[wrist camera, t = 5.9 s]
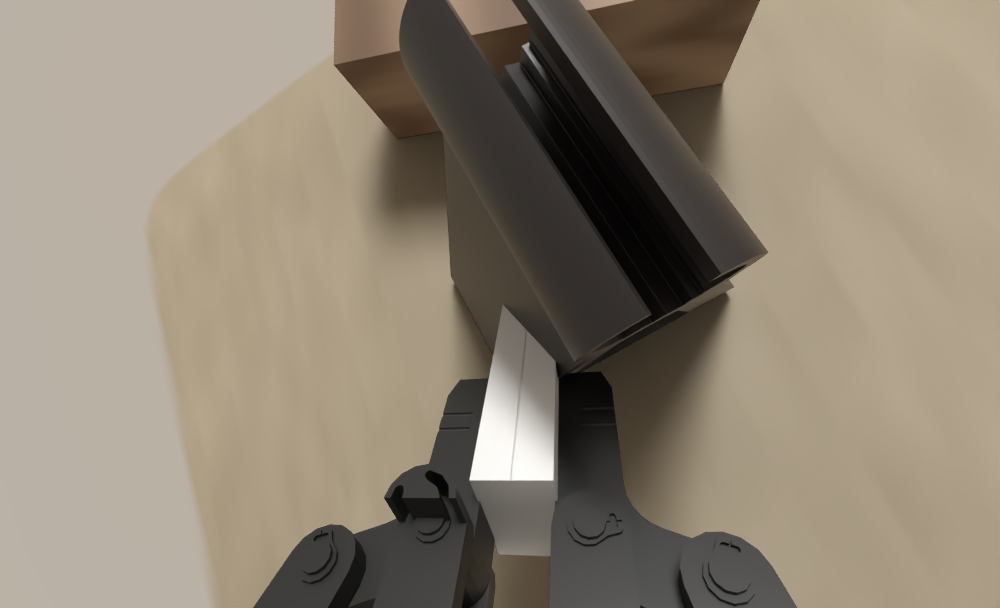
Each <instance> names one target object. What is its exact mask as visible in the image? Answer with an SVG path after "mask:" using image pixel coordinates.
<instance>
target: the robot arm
mask: <svg viewBox="0 0 1000 608" xmlns="http://www.w3.org/2000/svg"><path fill="white" fill-rule="evenodd" d="M443 415H444V416H443V417H442V420H441V423H440V427H439V432H438V434H437V437H436V441H435V444H434V448H433V452H432V455H431V459H430V462H429V464H427V465H421V466H416V467H414V468H412V469H410V470H408V471H406V472H404V473H402V474H401V475H400V476H399V477H398V478H397V479H396V480H395V481H394V482H393V483H392V484H391V486H390V488H389V489H388V491H387V493H386V495H385V497H384V499H385V500H386V502H387V503H388V505H389V507H390V508H391V510H392V512H393V513H394V515H395V516H396V519H395V520H392V521H390V522H388V523H386V524H383V525H380V526H377V527H374V528H371V529H368V530H365V531H362V532H359V533H356V534H353V533H352V532H351V531H350V530H348V529H347V528H345V527H344V526H342V525H331V524H330V525H327V526H324V527H321V528H318V529H316V530H314V531H313V532H312V533H310V534H309V535H307V536H306V537H304V538H303V539H302V541H301V542H300V543H299V544H298V545H297V546H296V547H295V548H294V550H293V551H292V552H291V554H290V555H289V557H288V558H287V559H286V561H285V562H284V564H283V565H282V567H281V568H280V570H279V571H278V573H277V574H276V575H275V577H274V578H273V580H272V581H271V583H270V584H269V586H268V587H267V588H266V590H265V591H264V593H263V594H262V596H261V597H260V599H259V600H258V602H257V603H256V604H255V606H254V607H253V608H493V603H494V594H495V575H494V572H493V570H492V567H491V566H492V558H493V550H494V544H495V546H496V549H497V551H498V554H501V555H529V556H550V591H549V608H797V607H796V605H795V603H794V602H793V600H792V598H791V597H790V595H789V593H788V592H787V590H786V588H785V587H784V585H783V583H782V582H781V580H780V578H779V577H778V575H777V574H776V572H775V570H774V569H773V567H772V566H771V564H770V563H769V562H768V561H767V560H766V558H765V557H764V556H763V555H762V554H761V552H760V551H759V550H758V549H756V548H755V547H754V546H752V545H751V544H749V543H748V542H746V541H745V540H743V539H742V538H740V537H737V536H734V535H731V534H728V533H725V532H705V533H703V534H700V535H698V536H696V537H694V538H689V537H686V536H683V535H680V534H678V533H675V532H672V531H669V530H666V529H663V528H661V527H659V526H657V525H654V524H652V523H650V522H649V521H648V520H646V519H645V518H644V517H642V516H641V515H640V514H639V513H638V512H637V511H636V510H635V509H634V507H633V506H632V505H631V503H630V501H629V499H628V498H627V496H626V492H625V488H624V484H623V476H622V468H621V460H620V451H619V443H618V435H617V427H616V419H615V410H614V402H613V394H612V387H611V386H610V384H609V383H608V381H607V380H606V378H605V377H604V376H603V374H602V373H601V372H582V373H568V374H566V375H565V376H563V377H561V378H559V377H558V372H557V366H556V361H555V360H554V359H553V358H552V357H551V356H550V355H549V354H548V353H547V351H546V350H545V349H544V348H543V347H542V346H541V345H540V344H539V343H538V342H537V341H536V340H535V339H534V337H533V336H532V335H531V334H530V333H529V332H528V331H527V330H526V329H525V328H524V327H523V326H522V324H521V323H520V322H519V321H518V320H517V319H516V318H515V317H514V316H513V315H512V314H511V313H510V312H509V310H508V309H507V308H506V307H505V306H504V305H503V306H502V312H501V317H500V322H499V327H498V333H497V338H496V343H495V348H494V354H493V359H492V364H491V369H490V375H489V378H488V379H468V380H460V381H459V382H458V384H457V385H456V386H455V387H454V389H453V390H452V391H451V393H450V394H449V395H448V398H447V402H446V405H445V409H444V412H443Z"/></svg>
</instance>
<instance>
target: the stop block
mask: <svg viewBox="0 0 1000 608" xmlns="http://www.w3.org/2000/svg"><path fill="white" fill-rule="evenodd" d="M449 1H450V3H451V4H452V6H453V7H454V9H455V10H456V12H457V13H458V15H459V17H460V18H461V20H462V21H463V23H464V24H465V26H466V27H467V29H468V31H469V32H470V34H471V35H472V37H473V38H474V40H475V41H476V43H477V44H478V46H479V48H480V49H481V51H482V52H483V54H484V55H485V57H486V58H487V60H488V61H489V63H490V65H491V66H492V68H493V69H494V71H495V72H496V74H497V75H498V77H500V74H501V72H502V69H503V67H504V66H505V65H510V64H515V63H519V62H520V56H521V46H523V45H525V44H527V43H529V36H528V34H529V32H530V30H531V27H530V26H529V24H528V23H527V21H526V20H525V19H524V17H523V16H522V14H521V13H520V11H519V10H518V9H517V7H516V6H515V4H514V3H513V1H512V0H449ZM579 1H580V2H581V3H582V5H583V6H584V7H585V9H586V10H587V11H588V13H589V14H590V15H591V17H592V18H593V19H594V21H595V22H596V23H597V25H598V26H599V27H600V29H601V30H602V31H603V33H604V34H605V35H606V37H607V38H608V39H609V41H610V42H611V43H612V45H613V46H614V47H615V49H616V50H617V51H618V53H619V54H620V55H621V57H622V58H623V59H624V61H625V62H626V63H627V65H628V66H629V67H630V69H631V70H632V71H633V73H634V74H635V75H636V77H637V78H638V79H639V81H640V82H641V83H642V85H643V86H644V87H645V89H646V90H647V91H648V93H649V94H650V95H651V96H652V95H658V94H664V93H670V92H675V91H681V90H687V89H693V88H699V87H705V86H711V85H717V84H723V83H724V81H725V79H726V76H727V74H728V72H729V70H730V67H731V65H732V63H733V60H734V58H735V56H736V54H737V51H738V49H739V47H740V45H741V42H742V40H743V38H744V35H745V33H746V31H747V29H748V26H749V24H750V22H751V20H752V17H753V15H754V13H755V10H756V8H757V6H758V4H759V1H760V0H579ZM406 2H407V0H335V35H334V36H335V37H334V66H335V67H336V68H337V69H338V70H339V71H340V73H341V74H342V75H343V76H344V77H345V78H346V80H347V81H348V82H349V83H350V84H351V85H352V87H353V88H354V89H355V90H356V91H357V92H358V94H359V95H360V96H361V97H362V98H363V99H364V101H365V102H366V103H367V104H368V105H369V106H370V108H371V109H372V110H373V111H374V112H375V113H376V115H377V116H378V117H379V118H380V119H381V120H382V122H383V123H384V124H385V125H386V126H387V127H388V129H389V130H390V131H391V132H392V133H393V134H394V136H395V137H396V138H397V139H398V138H404V137H410V136H416V135H421V134H427V133H433V132H439V131H441V130H440V128H439V126H438V125H437V123H436V121H435V119H434V118H433V116H432V114H431V113H430V111H429V109H428V107H427V106H426V104H425V102H424V100H423V99H422V97H421V95H420V94H419V92H418V90H417V88H416V87H415V85H414V83H413V81H412V80H411V78H410V76H409V75H408V73H407V71H406V69H405V67H404V64H403V62H402V58H401V54H400V47H399V30H400V23H401V18H402V14H403V10H404V7H405V4H406Z"/></svg>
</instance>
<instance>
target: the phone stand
mask: <svg viewBox="0 0 1000 608" xmlns="http://www.w3.org/2000/svg"><path fill="white" fill-rule="evenodd" d="M512 1H513V3H514V4H515V6H516V7H517V9H518V10H519V11H520V13H521V14H522V16H523V17H524V19H525V20H526V21H527V23H528V24H529V26H530V27H531V30H530V32H529V34H528V36H529V43H527V44H525V45H523V46H521V56H520V62H519V63H515V64H510V65H505V66H504V67H503V69H502V72H501V74H500V77H498V75H497V74H496V72H495V71H494V69H493V68H492V66H491V65H490V63H489V61H488V60H487V58H486V57H485V55H484V54H483V52H482V51H481V49H480V48H479V46H478V44H477V43H476V41H475V40H474V38H473V37H472V35H471V34H470V32H469V31H468V29H467V27H466V26H465V24H464V23H463V21H462V20H461V18H460V17H459V15H458V13H457V12H456V10H455V9H454V7H453V6H452V4H451V3H450V1H449V0H407V2H406V4H405V7H404V10H403V14H402V18H401V23H400V30H399V47H400V54H401V58H402V62H403V64H404V67H405V69H406V71H407V73H408V75H409V76H410V78H411V80H412V81H413V83H414V85H415V87H416V88H417V90H418V92H419V94H420V95H421V97H422V99H423V100H424V102H425V104H426V106H427V107H428V109H429V111H430V113H431V114H432V116H433V118H434V119H435V121H436V123H437V125H438V126H439V128H440V130H441V132H442V133H443V142H444V161H445V179H446V197H447V215H448V233H449V251H450V269H451V277H452V279H453V281H454V283H455V285H456V287H457V289H458V290H459V292H460V294H461V296H462V298H463V300H464V302H465V304H466V306H467V307H468V309H469V311H470V313H471V315H472V317H473V319H474V321H475V323H476V324H477V326H478V328H479V330H480V332H481V334H482V336H483V338H484V340H485V341H486V343H487V345H488V347H489V349H490V351H491V353H492V355H493V354H494V348H495V343H496V338H497V333H498V327H499V322H500V317H501V312H502V306H503V305H504V306H505V307H506V308H507V309H508V310H509V312H510V313H511V314H512V315H513V316H514V317H515V318H516V319H517V320H518V321H519V322H520V323H521V324H522V326H523V327H524V328H525V329H526V330H527V331H528V332H529V333H530V334H531V335H532V336H533V337H534V339H535V340H536V341H537V342H538V343H539V344H540V345H541V346H542V347H543V348H544V349H545V350H546V351H547V353H548V354H549V355H550V356H551V357H552V358H553V359H554V360H555V361H556V366H557V372H558V377H559V378H561V377H563V376H565V375H566V374H568V373H580V372H582V371H584V370H585V369H587V368H589V367H591V366H593V365H594V364H596V363H598V362H600V361H602V360H604V359H605V358H607V357H609V356H611V355H613V354H614V353H616V352H618V351H620V350H621V349H623V348H625V347H627V346H629V345H631V344H632V343H634V342H636V341H638V340H640V339H641V338H643V337H645V336H647V335H649V334H650V333H652V332H654V331H656V330H658V329H659V328H661V327H663V326H665V325H667V324H668V323H670V322H672V321H674V320H676V319H678V318H679V317H681V316H683V315H685V314H687V313H688V312H690V311H692V310H694V309H696V308H697V307H699V306H701V305H703V304H705V303H706V302H708V301H710V300H712V299H714V298H715V297H717V296H719V295H721V294H723V293H724V292H726V291H728V290H730V289H731V288H733V287H734V286H733V285H732V283H731V282H730V281H729V279H730V278H732V277H733V276H735V275H736V274H738V273H739V272H741V271H742V270H744V269H745V268H747V267H748V266H750V265H751V264H753V263H754V262H756V261H757V260H759V259H760V258H762V257H763V256H764V255H766V254H767V253H768V251H767V250H766V248H765V247H764V246H763V244H762V243H761V242H760V240H759V239H758V238H757V236H756V235H755V234H754V232H753V231H752V230H751V228H750V227H749V226H748V224H747V223H746V222H745V220H744V219H743V218H742V216H741V215H740V214H739V212H738V211H737V210H736V208H735V207H734V206H733V204H732V203H731V202H730V200H729V199H728V198H727V196H726V195H725V194H724V192H723V191H722V190H721V188H720V187H719V186H718V184H717V183H716V182H715V180H714V179H713V178H712V176H711V175H710V174H709V172H708V171H707V170H706V168H705V167H704V166H703V164H702V163H701V162H700V160H699V159H698V158H697V156H696V155H695V154H694V152H693V151H692V150H691V148H690V147H689V146H688V144H687V143H686V142H685V141H684V139H683V138H682V137H681V135H680V134H679V133H678V131H677V130H676V129H675V127H674V126H673V125H672V123H671V122H670V121H669V119H668V118H667V117H666V115H665V114H664V113H663V111H662V110H661V109H660V107H659V106H658V105H657V103H656V102H655V101H654V99H653V98H652V97H651V95H650V94H649V93H648V91H647V90H646V89H645V87H644V86H643V85H642V83H641V82H640V81H639V79H638V78H637V77H636V75H635V74H634V73H633V71H632V70H631V69H630V67H629V66H628V65H627V63H626V62H625V61H624V59H623V58H622V57H621V55H620V54H619V53H618V51H617V50H616V49H615V47H614V46H613V45H612V43H611V42H610V41H609V39H608V38H607V37H606V35H605V34H604V33H603V31H602V30H601V29H600V27H599V26H598V25H597V23H596V22H595V21H594V19H593V18H592V17H591V15H590V14H589V13H588V11H587V10H586V9H585V7H584V6H583V5H582V3H581V2H580V1H579V0H512Z"/></svg>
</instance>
